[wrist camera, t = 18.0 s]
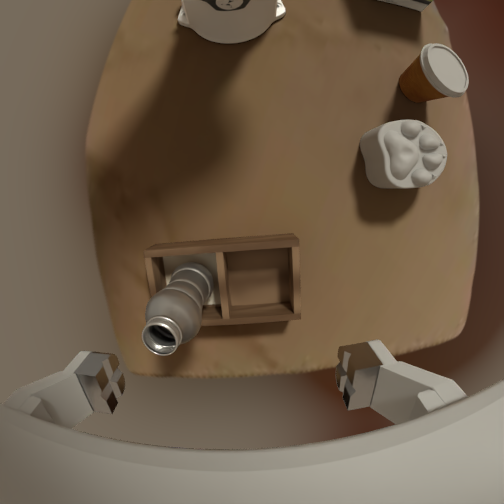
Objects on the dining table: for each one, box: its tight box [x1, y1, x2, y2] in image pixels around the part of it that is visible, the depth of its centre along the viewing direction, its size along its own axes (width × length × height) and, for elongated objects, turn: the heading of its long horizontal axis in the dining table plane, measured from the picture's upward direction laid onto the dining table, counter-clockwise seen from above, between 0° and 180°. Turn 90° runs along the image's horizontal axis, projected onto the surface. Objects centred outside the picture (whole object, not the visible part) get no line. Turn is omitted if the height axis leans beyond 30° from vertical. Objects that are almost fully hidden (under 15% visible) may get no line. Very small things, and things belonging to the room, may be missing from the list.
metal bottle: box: [142, 262, 214, 356], centre depth 35 cm, size 6×7×20 cm
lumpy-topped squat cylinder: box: [360, 120, 447, 189], centre depth 37 cm, size 10×13×9 cm
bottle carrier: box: [144, 234, 301, 326], centre depth 43 cm, size 12×22×6 cm, turn 94°
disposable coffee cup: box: [399, 44, 469, 103], centre depth 33 cm, size 10×10×12 cm
